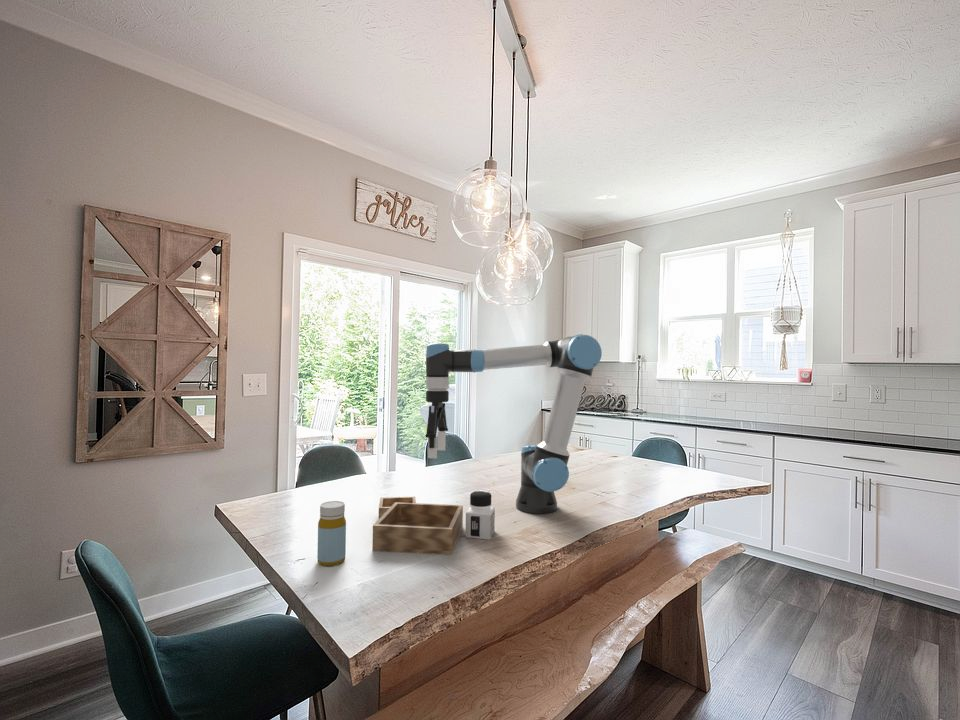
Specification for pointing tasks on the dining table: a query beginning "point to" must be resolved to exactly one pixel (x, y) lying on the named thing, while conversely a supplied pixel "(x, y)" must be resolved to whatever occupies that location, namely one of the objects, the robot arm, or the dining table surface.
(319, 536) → the bottle
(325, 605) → the dining table surface
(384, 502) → the small crate
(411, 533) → the crate
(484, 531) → the container
